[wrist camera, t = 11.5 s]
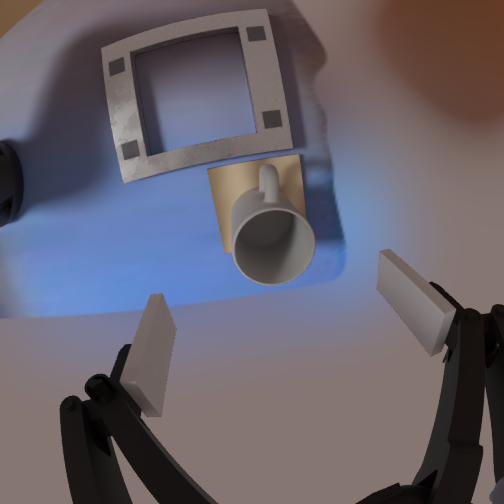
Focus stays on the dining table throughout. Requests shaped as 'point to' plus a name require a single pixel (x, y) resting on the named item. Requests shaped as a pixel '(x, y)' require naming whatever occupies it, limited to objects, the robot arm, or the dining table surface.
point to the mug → (270, 233)
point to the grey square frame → (264, 140)
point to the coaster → (247, 177)
